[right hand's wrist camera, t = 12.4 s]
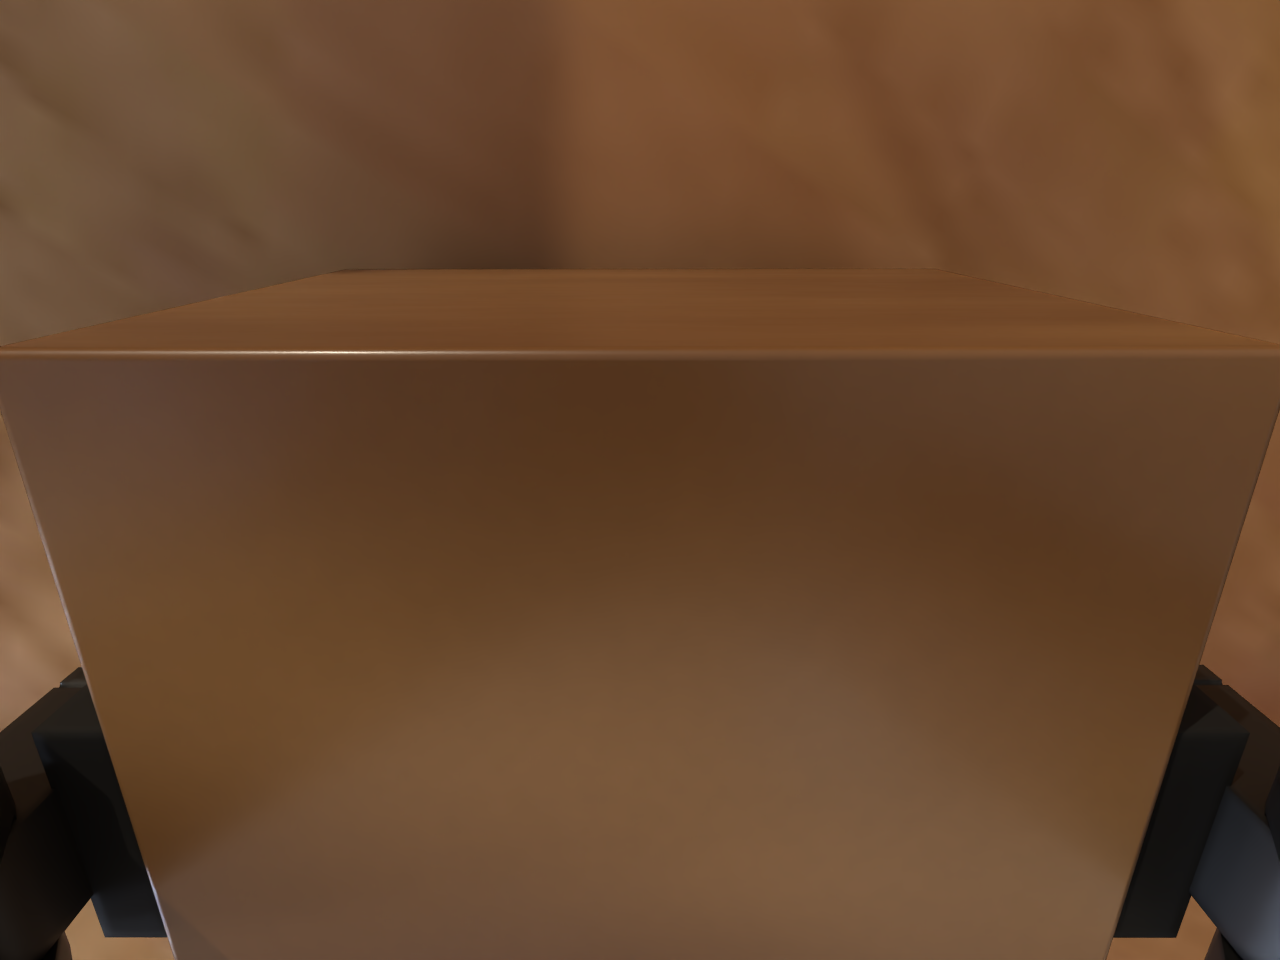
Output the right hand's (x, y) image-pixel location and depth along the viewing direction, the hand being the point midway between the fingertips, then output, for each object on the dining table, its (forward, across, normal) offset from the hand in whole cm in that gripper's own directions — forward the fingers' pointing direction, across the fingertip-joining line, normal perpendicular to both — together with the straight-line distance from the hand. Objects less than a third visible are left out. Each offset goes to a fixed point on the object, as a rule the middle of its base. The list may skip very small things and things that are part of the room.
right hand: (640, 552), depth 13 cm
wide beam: (+1, 0, -30) cm, 30 cm away
